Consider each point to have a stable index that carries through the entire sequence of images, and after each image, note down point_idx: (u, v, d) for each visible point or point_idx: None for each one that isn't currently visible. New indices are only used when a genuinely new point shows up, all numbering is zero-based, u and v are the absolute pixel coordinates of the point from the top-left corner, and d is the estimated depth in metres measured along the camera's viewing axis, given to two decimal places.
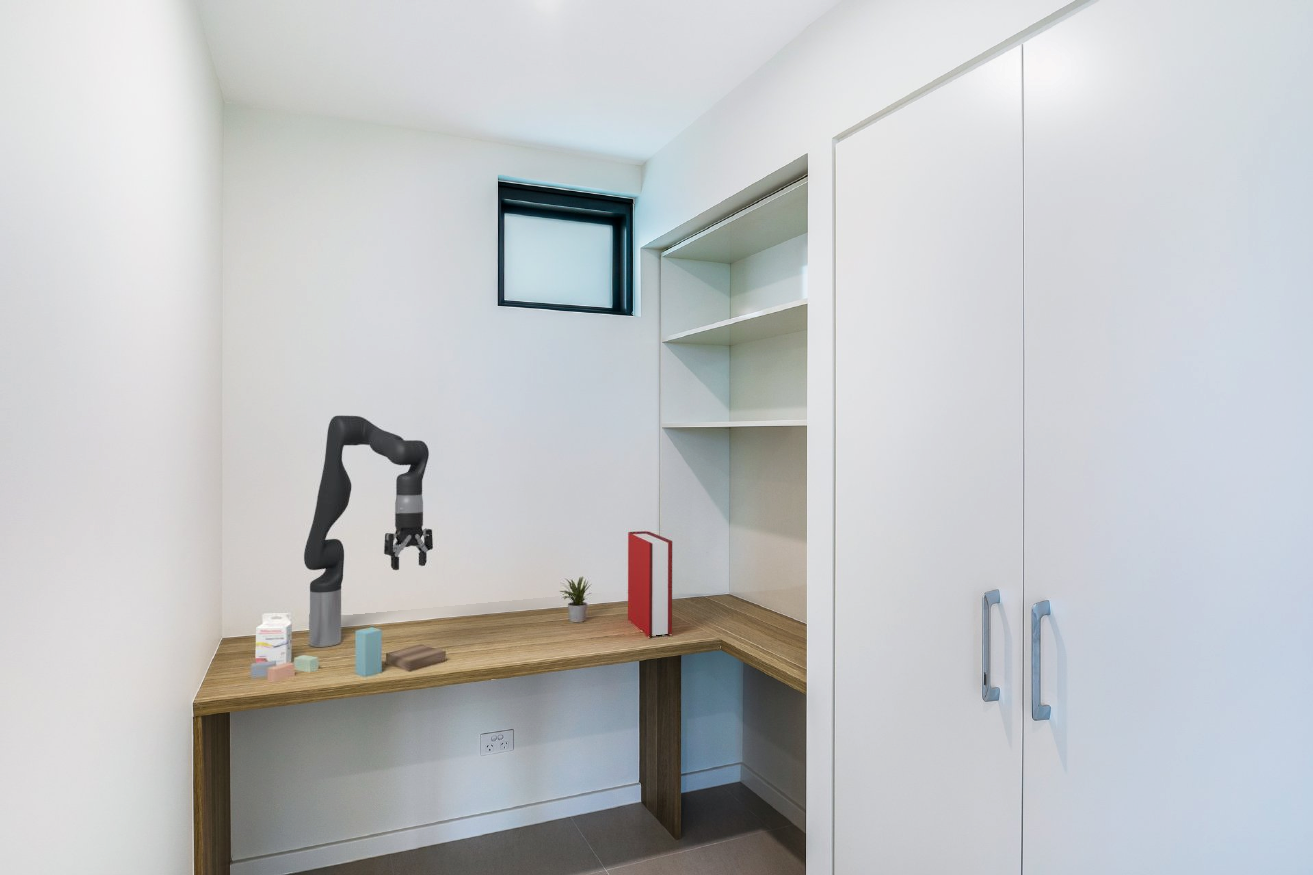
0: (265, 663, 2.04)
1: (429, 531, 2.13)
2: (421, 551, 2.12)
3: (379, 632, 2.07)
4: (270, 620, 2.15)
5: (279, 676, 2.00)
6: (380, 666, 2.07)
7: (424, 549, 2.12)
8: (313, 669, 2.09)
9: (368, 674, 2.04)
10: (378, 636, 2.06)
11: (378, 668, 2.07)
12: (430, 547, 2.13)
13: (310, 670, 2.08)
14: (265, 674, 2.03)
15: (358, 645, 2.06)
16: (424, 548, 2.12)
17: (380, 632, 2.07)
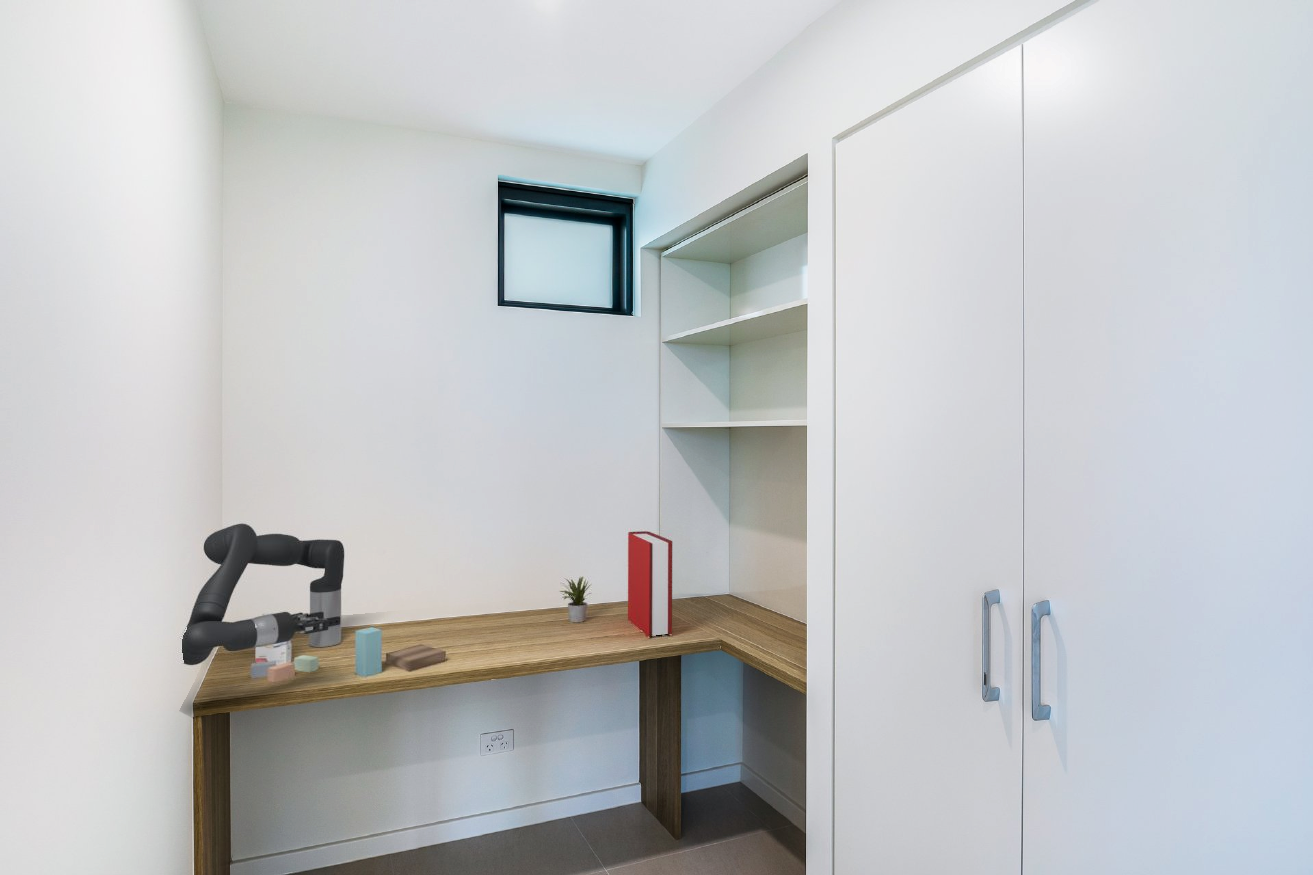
0: (265, 663, 2.04)
1: None
2: None
3: (379, 632, 2.07)
4: None
5: (279, 676, 2.00)
6: (380, 666, 2.07)
7: None
8: (313, 669, 2.09)
9: (368, 674, 2.04)
10: (378, 636, 2.06)
11: (378, 668, 2.07)
12: None
13: (310, 670, 2.08)
14: (265, 674, 2.03)
15: (358, 645, 2.05)
16: None
17: (380, 632, 2.07)
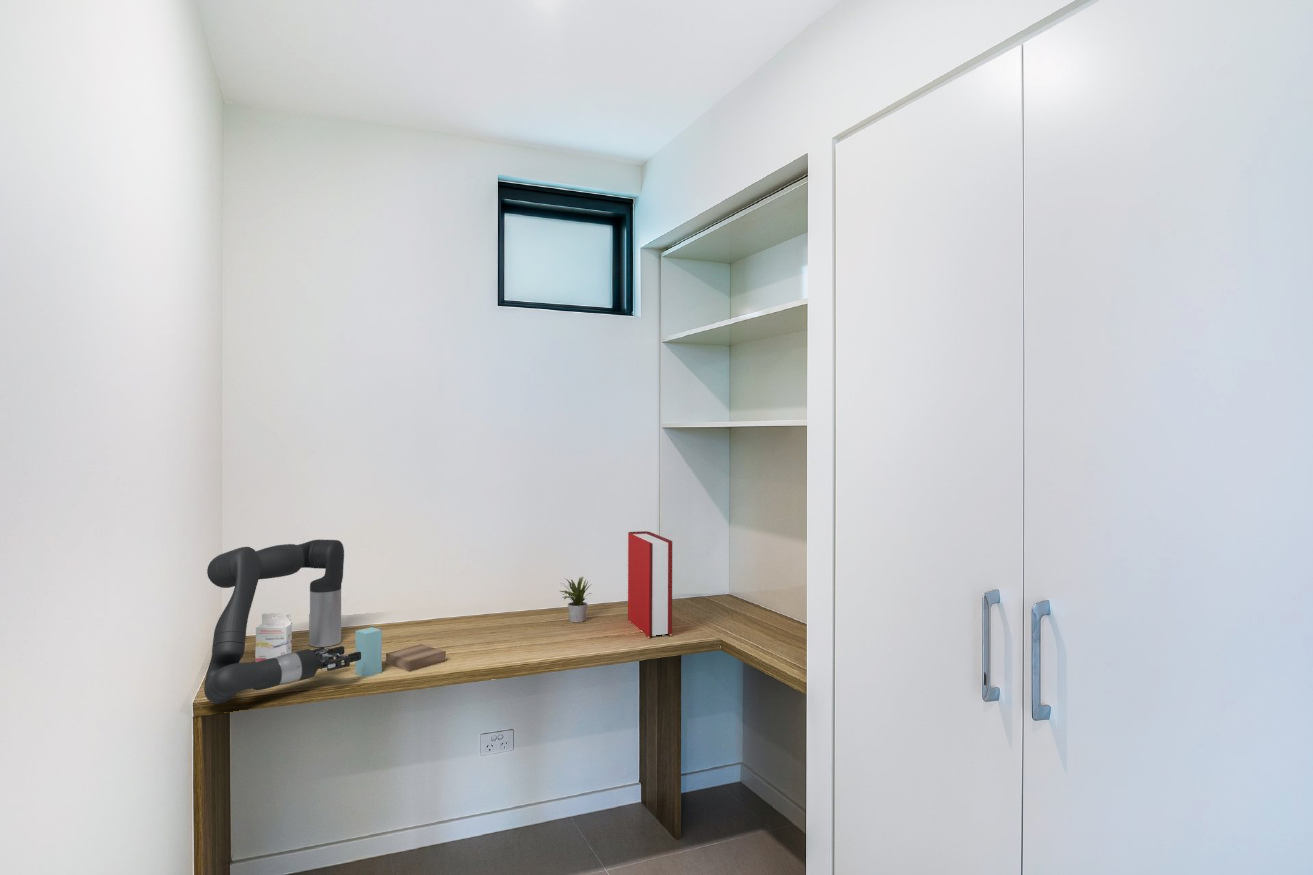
0: None
1: None
2: None
3: (379, 632, 2.07)
4: (270, 620, 2.15)
5: None
6: (380, 666, 2.07)
7: None
8: None
9: (368, 674, 2.04)
10: (378, 636, 2.06)
11: (378, 668, 2.07)
12: None
13: None
14: None
15: (358, 645, 2.05)
16: None
17: (380, 632, 2.07)
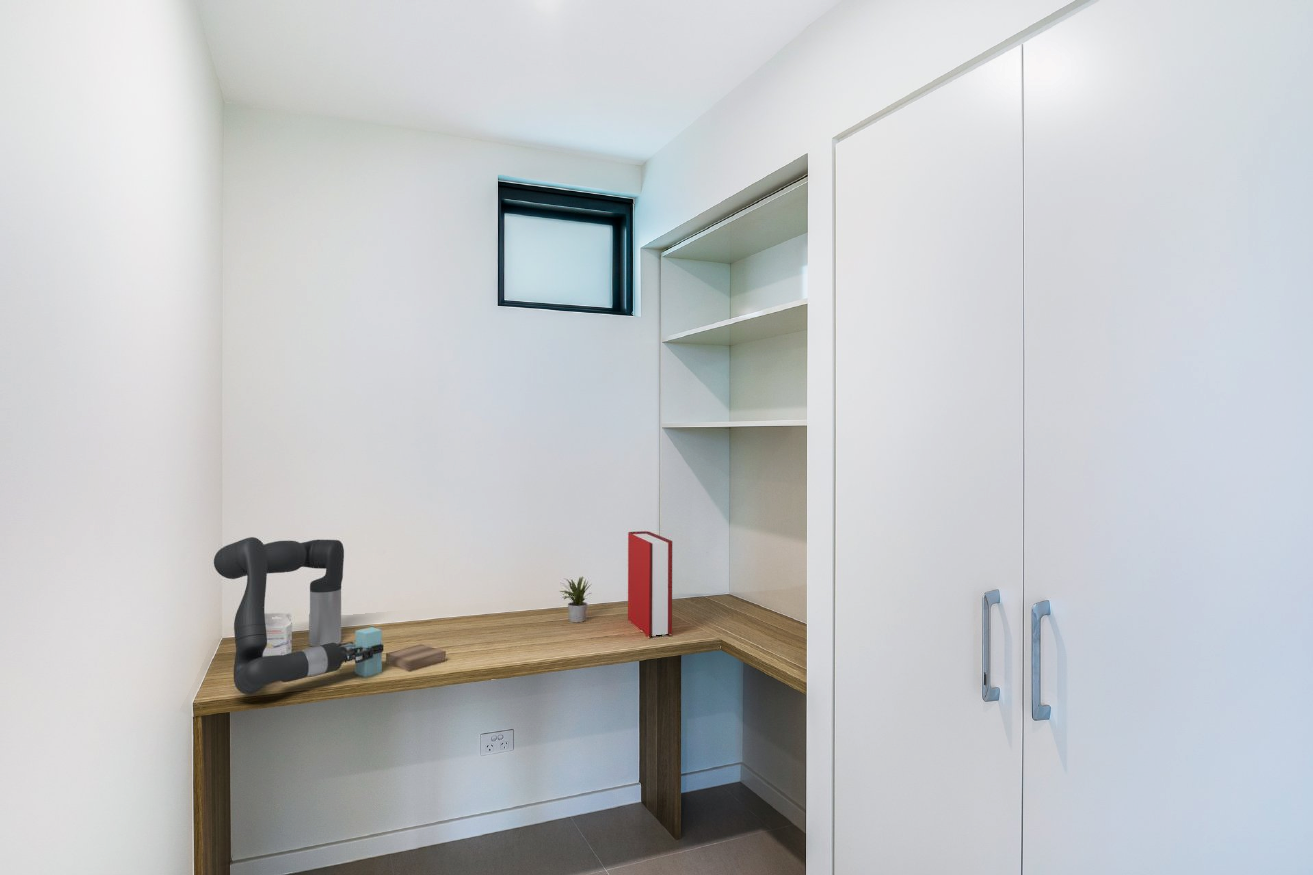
0: None
1: None
2: None
3: (379, 632, 2.07)
4: (270, 620, 2.15)
5: None
6: (380, 666, 2.07)
7: None
8: None
9: (368, 674, 2.04)
10: (378, 635, 2.06)
11: (378, 668, 2.07)
12: None
13: None
14: None
15: (358, 645, 2.06)
16: None
17: (380, 632, 2.07)
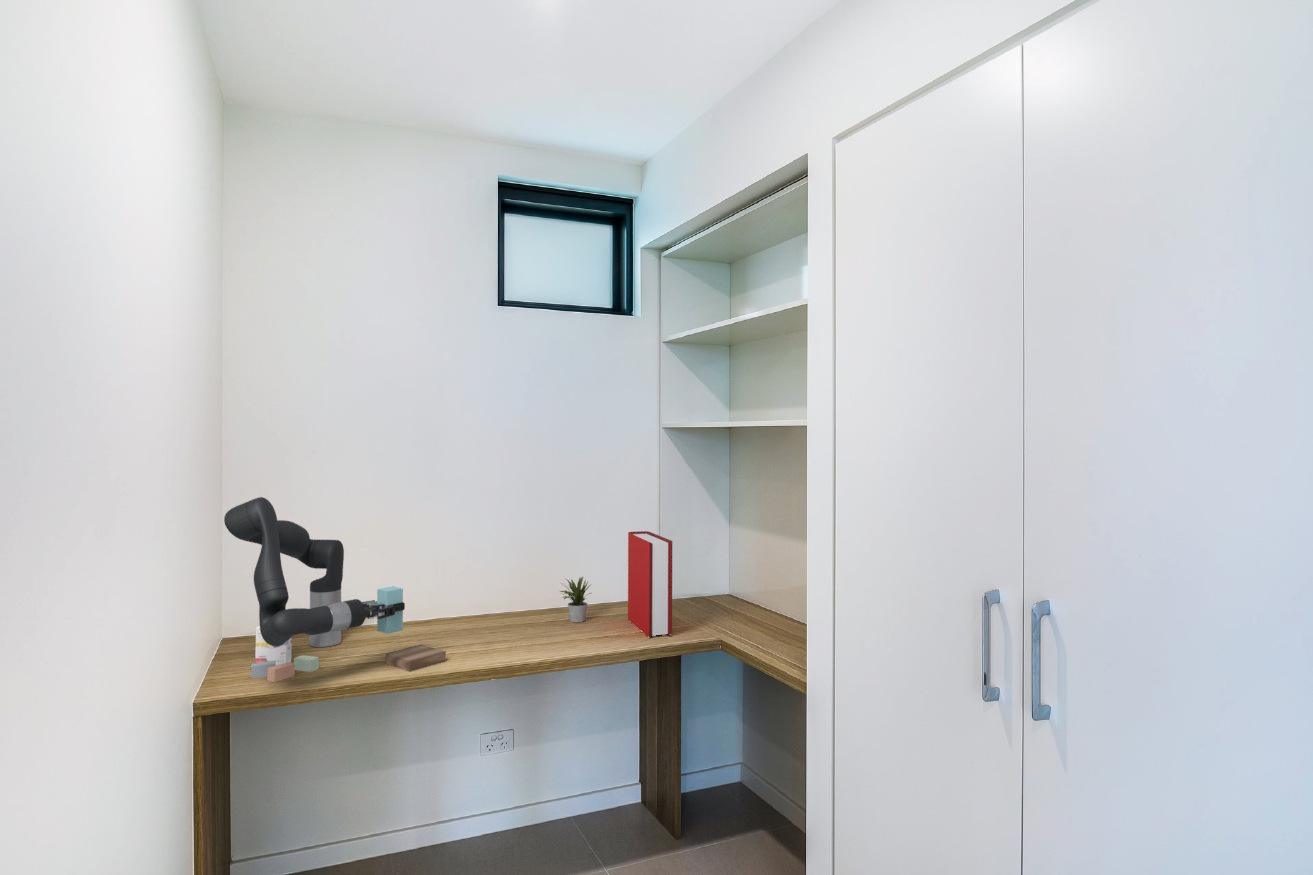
0: (265, 663, 2.04)
1: None
2: None
3: (400, 590, 2.11)
4: None
5: (278, 676, 2.00)
6: (401, 624, 2.11)
7: None
8: (314, 669, 2.09)
9: (390, 631, 2.09)
10: (399, 594, 2.11)
11: (399, 626, 2.11)
12: None
13: (311, 670, 2.08)
14: (266, 674, 2.04)
15: (380, 603, 2.10)
16: None
17: (401, 590, 2.11)
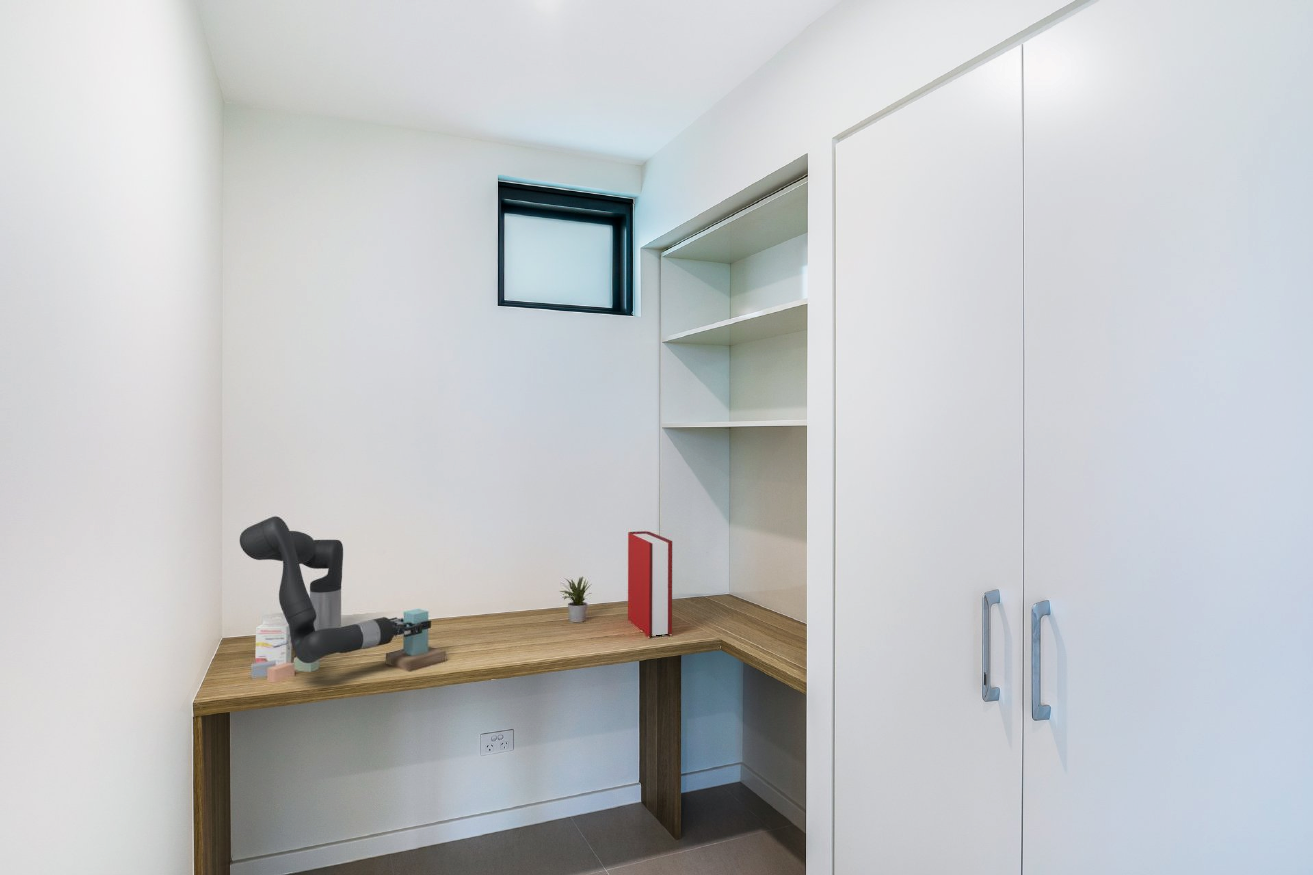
0: (265, 663, 2.04)
1: None
2: None
3: (426, 613, 2.17)
4: (270, 620, 2.15)
5: (278, 676, 2.00)
6: (427, 645, 2.17)
7: None
8: (314, 669, 2.09)
9: (416, 653, 2.14)
10: (425, 616, 2.16)
11: (425, 647, 2.16)
12: None
13: (311, 670, 2.08)
14: (266, 674, 2.04)
15: None
16: None
17: (427, 613, 2.17)
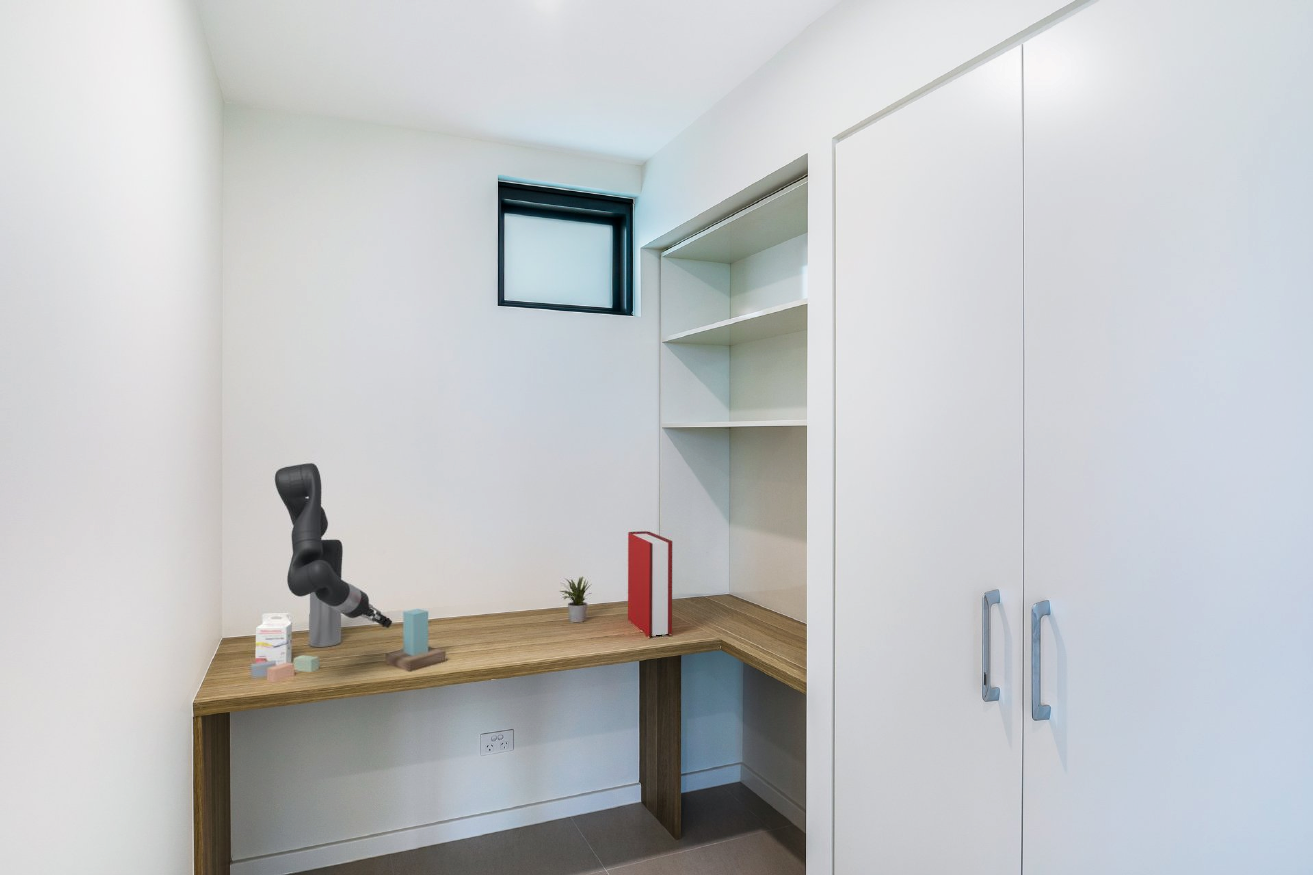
0: (265, 663, 2.04)
1: None
2: None
3: (426, 613, 2.17)
4: (270, 620, 2.15)
5: (278, 676, 2.00)
6: (427, 645, 2.17)
7: None
8: (314, 669, 2.09)
9: (416, 653, 2.14)
10: (425, 616, 2.16)
11: (425, 647, 2.16)
12: (382, 625, 2.06)
13: (311, 670, 2.08)
14: (266, 674, 2.04)
15: (406, 625, 2.15)
16: None
17: (427, 613, 2.17)
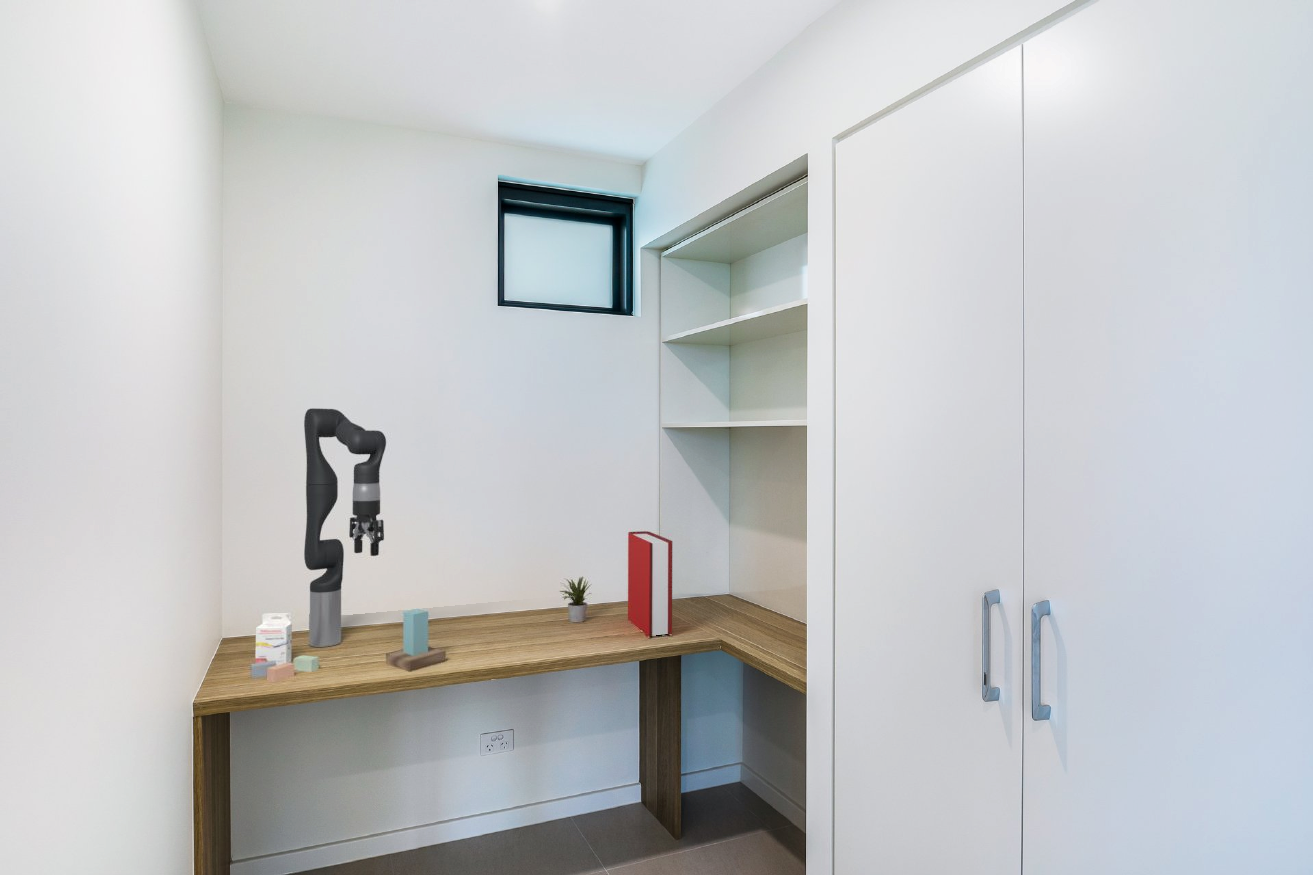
0: (265, 663, 2.04)
1: (374, 522, 2.10)
2: None
3: (426, 613, 2.17)
4: (270, 620, 2.15)
5: (278, 676, 2.00)
6: (427, 645, 2.17)
7: (370, 539, 2.11)
8: (314, 669, 2.09)
9: (416, 653, 2.14)
10: (425, 616, 2.16)
11: (425, 647, 2.16)
12: (374, 539, 2.10)
13: (311, 670, 2.08)
14: (266, 674, 2.04)
15: (406, 625, 2.15)
16: (370, 538, 2.11)
17: (427, 613, 2.17)
